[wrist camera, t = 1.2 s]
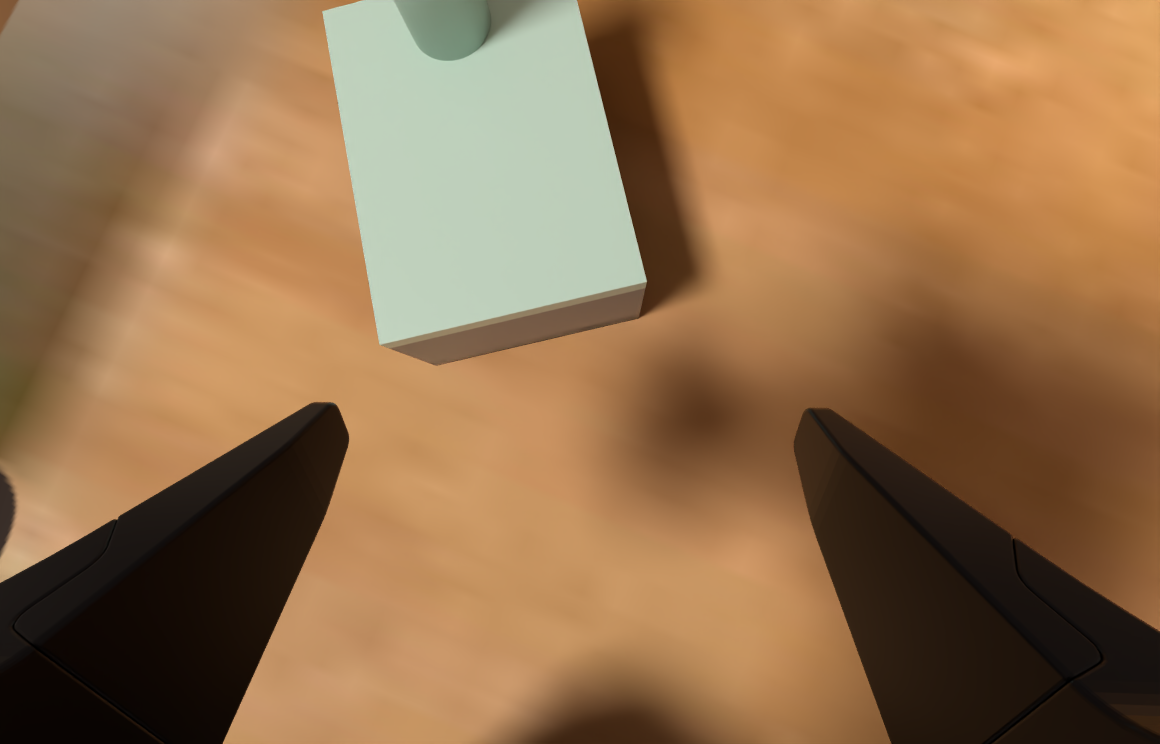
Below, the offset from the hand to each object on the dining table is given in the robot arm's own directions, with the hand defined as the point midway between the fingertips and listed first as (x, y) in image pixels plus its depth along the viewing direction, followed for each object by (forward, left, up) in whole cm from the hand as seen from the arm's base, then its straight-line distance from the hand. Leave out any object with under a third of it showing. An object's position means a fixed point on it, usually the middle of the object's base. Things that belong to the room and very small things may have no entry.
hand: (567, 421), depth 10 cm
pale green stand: (-2, +12, -9) cm, 14 cm away
